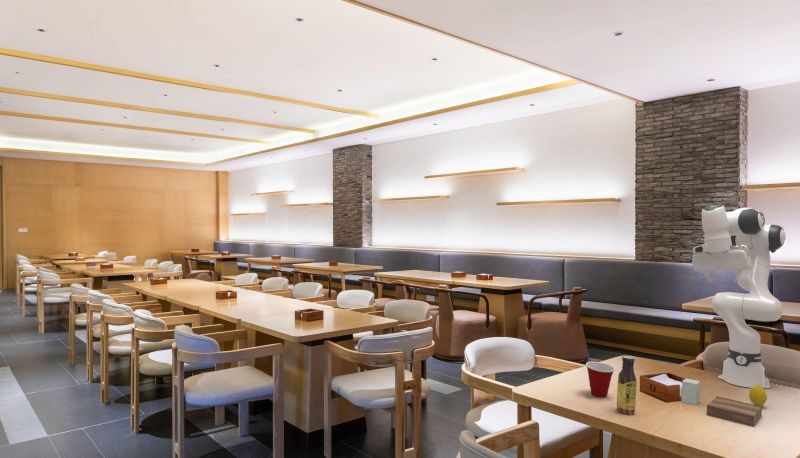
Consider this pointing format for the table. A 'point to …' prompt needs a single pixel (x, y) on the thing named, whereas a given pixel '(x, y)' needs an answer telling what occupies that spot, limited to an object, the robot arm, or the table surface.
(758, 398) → the lemon
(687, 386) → the sage block
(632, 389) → the sauce bottle
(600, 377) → the plastic cup
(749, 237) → the robot arm
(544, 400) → the table surface
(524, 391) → the table surface
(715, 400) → the walnut slab
